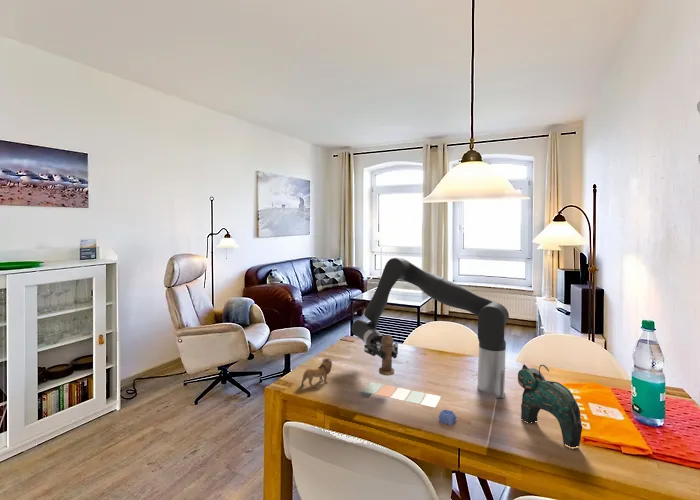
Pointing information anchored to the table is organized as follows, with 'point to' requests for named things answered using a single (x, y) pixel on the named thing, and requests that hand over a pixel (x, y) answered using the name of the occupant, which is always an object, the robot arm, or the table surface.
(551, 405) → the ceramic cat
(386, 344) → the pawn
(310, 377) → the lion figurine
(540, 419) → the table surface
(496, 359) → the robot arm
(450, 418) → the decorative dice
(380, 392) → the game board
